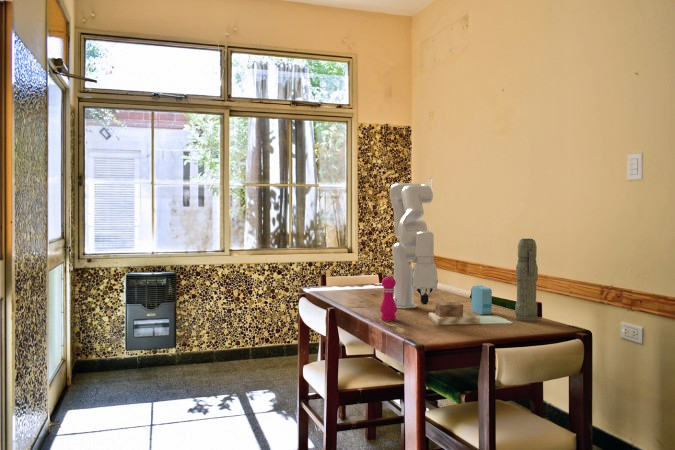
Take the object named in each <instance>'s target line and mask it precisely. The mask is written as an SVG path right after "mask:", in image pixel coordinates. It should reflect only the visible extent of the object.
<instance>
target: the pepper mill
mask: <svg viewBox="0 0 675 450" xmlns="http://www.w3.org/2000/svg"><path fill="white" fill-rule="evenodd" d="M395 285H396V281H395V279H394V277H392V276H391V273H389V272H388V273H387V274H386V276H385V277H383V278H382V279H381V286H382V292H383V298H382V299H383V300H382V302H381V304H380V309H379V311H380V313H381V317H380V318H381V319H380V320H381V321H384V320H388V321H387V322H391V320H394V321H396V319H397V318H396V317H397V316H396V313H397V312H398V308H397V307H396V304H395V301H394V298H393V296H394V286H395Z"/></svg>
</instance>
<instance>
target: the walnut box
mask: <svg viewBox="0 0 675 450" xmlns="http://www.w3.org/2000/svg"><path fill="white" fill-rule="evenodd" d="M434 305H435V313H436V315H438V316H439V317H460V316H463V312H464V304H463V303H461V302H459V301H454V302H453V301H449V302H447V301H446V302H445V301H443V302H435V304H434Z"/></svg>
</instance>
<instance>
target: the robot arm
mask: <svg viewBox="0 0 675 450" xmlns="http://www.w3.org/2000/svg"><path fill="white" fill-rule="evenodd" d="M433 199H434V193H433V189H432V188H431V186H430V185H428V184H426V183H416V182H415V183H413V182H412V183H411V182H410V183H406V182H398V183H394V184H392V185H391V186H390V189H389V200H390V204H391V206H392V209H393V222H394V225H393V226H394V228H393V229H394V235H395V238H397V239H399V241H398V242H396V243H394V244H393V245H392V249H391V252H392V260H393V278H394V279H395V281H396V285H395V286H394V292H393V298H394V301H395V304H396V307H397V309H414V308H417V306H418V305H417V304H416V303H415V302H414V292H415V291H416V292H418V293H419V294H420V303H421V305H424V306H425V305H428V303H429V296H430V294H431V293H432V292H433V291H437V290H438V282H439V281H438V271H437V264H436V263H434V262H435V261H434V255H435V253H434V245H435V244H434V243H435V242H434V241H435V239H434V238H435V236H434V233H433V232H432V231H429V230H428V225H427V223H426V221H424V220H422V219H421V218H422V217H423V216H424V214H425V211H424V207H423V204H430V203H432V202H433ZM409 262H414V263H413V267H412V265H411V264H410V263H409Z"/></svg>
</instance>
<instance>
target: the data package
mask: <svg viewBox="0 0 675 450" xmlns="http://www.w3.org/2000/svg"><path fill="white" fill-rule="evenodd" d="M492 291H493V290H492V288H491V287H487V286H484V285H472V287H471V311H472V312H474V313H477V314H479V315H480V316H491V314H492V309H493V308H492V303H493V302H492V299H493V298H492V297H493V294H492V293H493V292H492Z"/></svg>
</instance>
